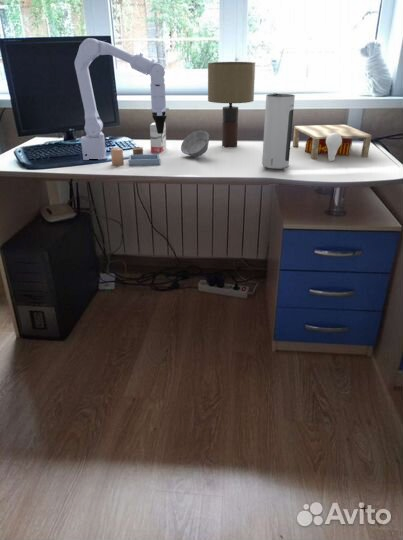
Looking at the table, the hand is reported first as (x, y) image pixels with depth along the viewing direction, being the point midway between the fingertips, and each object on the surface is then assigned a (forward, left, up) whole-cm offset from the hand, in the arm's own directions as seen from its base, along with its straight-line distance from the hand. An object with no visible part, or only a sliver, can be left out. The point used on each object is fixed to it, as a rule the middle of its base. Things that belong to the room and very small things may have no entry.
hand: (159, 131), depth 175 cm
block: (-10, -1, -10) cm, 14 cm away
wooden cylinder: (-18, -11, -10) cm, 23 cm away
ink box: (-1, +11, -10) cm, 15 cm away
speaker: (+43, -22, -10) cm, 50 cm away
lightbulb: (+67, -19, -10) cm, 71 cm away
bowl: (+14, -2, -10) cm, 18 cm away
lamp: (+32, +16, -10) cm, 38 cm away
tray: (-7, -10, -10) cm, 16 cm away
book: (+74, -1, -11) cm, 74 cm away
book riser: (+73, -1, -10) cm, 74 cm away
